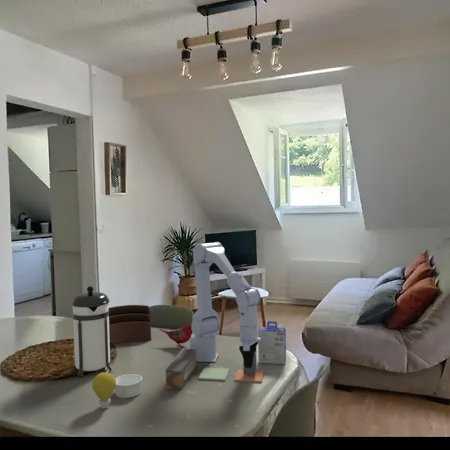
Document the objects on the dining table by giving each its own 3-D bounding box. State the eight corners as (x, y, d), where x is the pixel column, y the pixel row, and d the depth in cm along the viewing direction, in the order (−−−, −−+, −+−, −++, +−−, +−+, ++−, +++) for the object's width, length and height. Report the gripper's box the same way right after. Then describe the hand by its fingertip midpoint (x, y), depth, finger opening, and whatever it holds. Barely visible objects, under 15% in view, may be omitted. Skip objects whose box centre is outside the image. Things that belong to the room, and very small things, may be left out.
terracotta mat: (234, 381, 141) (234, 379, 141) (238, 370, 149) (238, 369, 149) (261, 382, 139) (261, 381, 139) (263, 372, 148) (263, 370, 148)
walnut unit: (165, 389, 136) (164, 370, 135) (182, 365, 156) (181, 348, 155) (182, 390, 135) (181, 371, 134) (197, 366, 155) (196, 349, 154)
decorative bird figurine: (193, 350, 171) (192, 326, 170) (157, 344, 180) (157, 320, 179) (196, 348, 173) (196, 324, 173) (161, 342, 182) (161, 319, 182)
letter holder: (104, 337, 191) (104, 306, 190) (150, 334, 195) (149, 303, 194) (103, 344, 181) (102, 311, 180) (151, 340, 185) (150, 308, 185)
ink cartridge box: (286, 359, 160) (286, 321, 159) (285, 365, 154) (285, 325, 154) (260, 358, 162) (259, 320, 161) (258, 363, 156) (257, 324, 155)
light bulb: (95, 402, 127) (94, 369, 127) (118, 401, 128) (117, 368, 127) (90, 413, 121) (89, 378, 120) (114, 411, 121) (113, 377, 121)
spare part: (243, 373, 143) (243, 349, 142) (244, 369, 146) (244, 346, 146) (255, 374, 142) (255, 350, 141) (256, 369, 146) (256, 346, 145)
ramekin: (117, 401, 128) (116, 387, 127) (110, 390, 136) (110, 377, 135) (146, 395, 132) (145, 381, 132) (138, 384, 140) (137, 371, 139)
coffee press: (124, 364, 158) (122, 283, 156) (94, 380, 143) (91, 291, 142) (88, 358, 165) (85, 280, 163) (56, 373, 150) (52, 288, 149)
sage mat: (198, 379, 143) (198, 377, 143) (204, 369, 152) (204, 367, 151) (225, 380, 141) (225, 379, 141) (229, 370, 150) (229, 368, 150)
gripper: (258, 331, 136) (259, 374, 136) (262, 319, 150) (262, 357, 151) (236, 331, 137) (237, 372, 137) (242, 318, 151) (242, 356, 152)
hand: (249, 364), depth 144 cm, fingers closed on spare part, 4 cm apart
